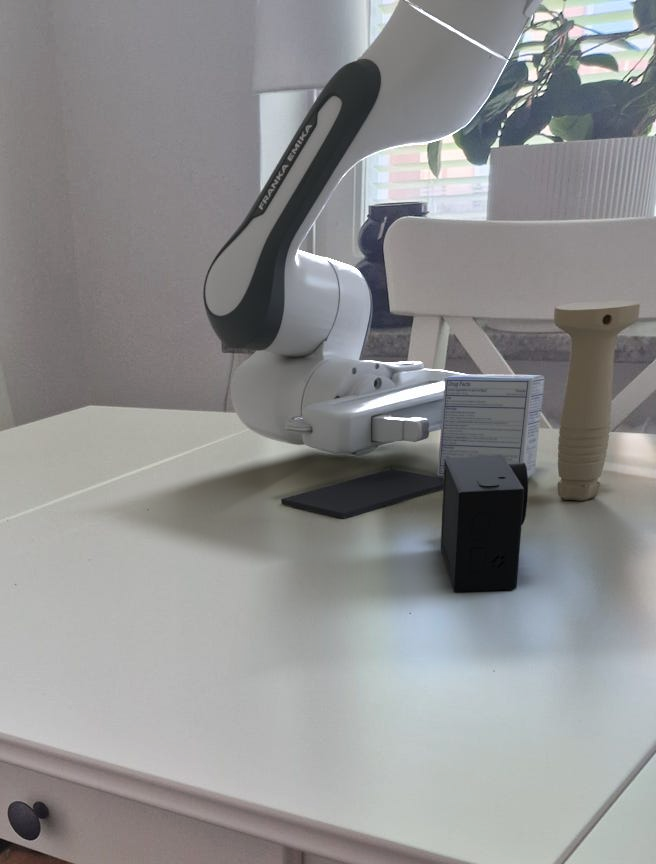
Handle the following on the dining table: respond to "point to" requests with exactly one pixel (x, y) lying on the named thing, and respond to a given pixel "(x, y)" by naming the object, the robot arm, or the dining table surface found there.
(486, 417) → the medicine box
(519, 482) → the digital camera
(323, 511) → the smartphone
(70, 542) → the dining table surface
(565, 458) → the handle
